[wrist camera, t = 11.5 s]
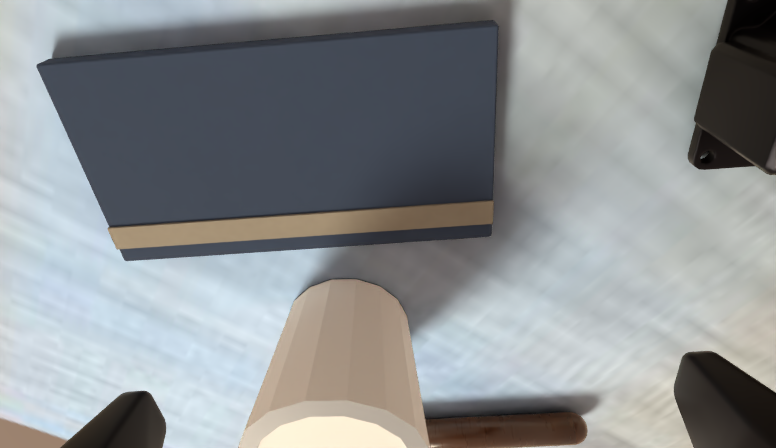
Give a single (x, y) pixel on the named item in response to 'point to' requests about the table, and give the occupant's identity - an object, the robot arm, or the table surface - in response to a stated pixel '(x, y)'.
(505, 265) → the table surface
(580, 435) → the spoon
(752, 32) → the robot arm
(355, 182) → the notebook
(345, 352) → the white tumbler
